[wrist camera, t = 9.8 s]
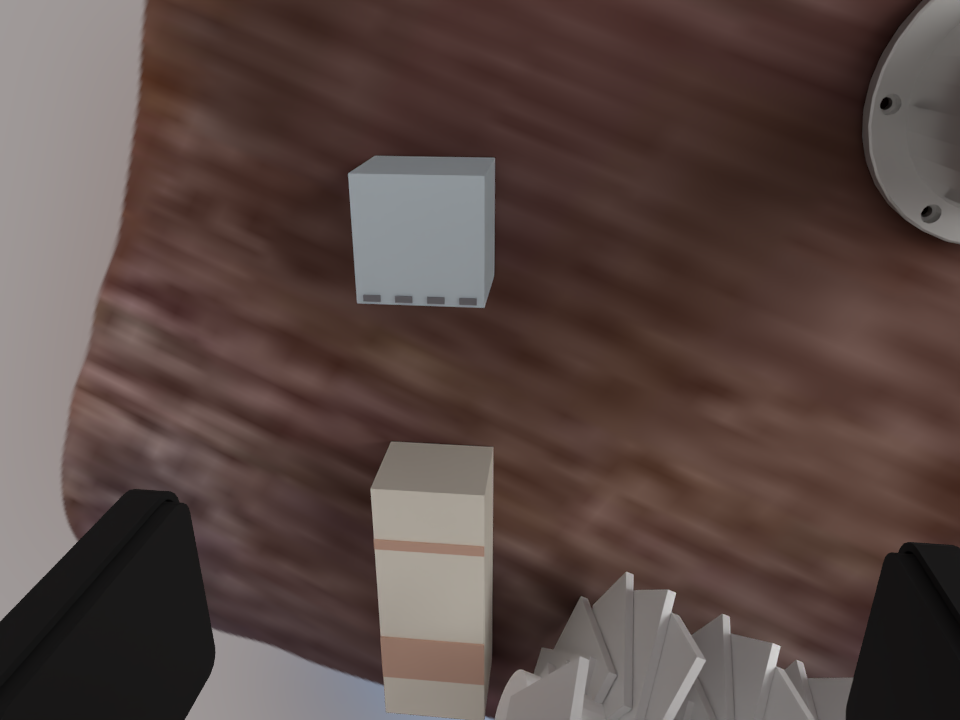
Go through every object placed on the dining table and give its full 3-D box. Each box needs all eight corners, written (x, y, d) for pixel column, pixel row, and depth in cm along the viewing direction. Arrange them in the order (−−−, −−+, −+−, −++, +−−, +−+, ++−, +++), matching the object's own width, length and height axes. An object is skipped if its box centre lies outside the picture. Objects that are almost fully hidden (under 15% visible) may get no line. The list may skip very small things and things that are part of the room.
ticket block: (493, 446, 44) (484, 496, 39) (492, 658, 50) (484, 722, 46) (390, 441, 45) (370, 489, 40) (402, 651, 51) (385, 713, 46)
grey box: (495, 157, 37) (484, 176, 33) (494, 275, 40) (484, 308, 35) (374, 155, 38) (347, 173, 33) (381, 272, 40) (356, 304, 36)
